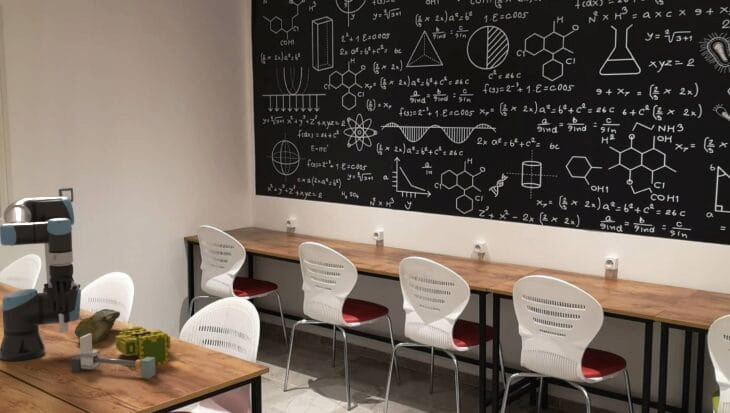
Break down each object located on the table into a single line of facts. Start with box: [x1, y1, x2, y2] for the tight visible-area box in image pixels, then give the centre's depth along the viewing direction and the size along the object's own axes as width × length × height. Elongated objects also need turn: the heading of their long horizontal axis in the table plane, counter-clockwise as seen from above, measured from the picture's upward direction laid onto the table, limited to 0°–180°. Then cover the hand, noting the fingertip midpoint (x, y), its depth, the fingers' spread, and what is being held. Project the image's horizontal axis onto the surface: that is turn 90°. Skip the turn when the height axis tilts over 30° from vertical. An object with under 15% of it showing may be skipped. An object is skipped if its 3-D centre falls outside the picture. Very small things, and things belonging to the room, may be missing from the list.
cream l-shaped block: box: [79, 333, 101, 370], centre depth 253 cm, size 4×5×11 cm
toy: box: [115, 325, 172, 365], centre depth 272 cm, size 17×10×30 cm
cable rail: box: [70, 354, 156, 380], centre depth 251 cm, size 29×6×6 cm, turn 75°
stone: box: [74, 308, 121, 344], centre depth 294 cm, size 15×12×25 cm
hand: (64, 331), depth 255 cm, fingers closed
